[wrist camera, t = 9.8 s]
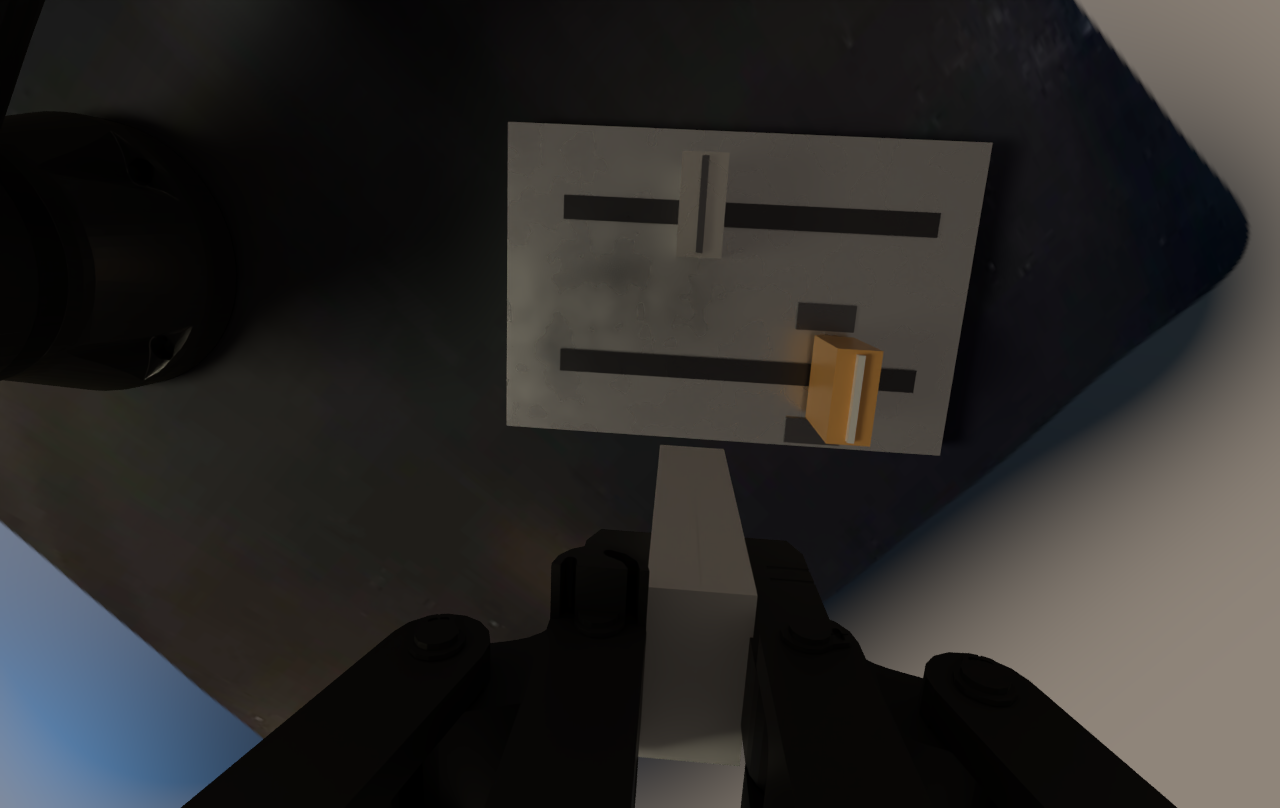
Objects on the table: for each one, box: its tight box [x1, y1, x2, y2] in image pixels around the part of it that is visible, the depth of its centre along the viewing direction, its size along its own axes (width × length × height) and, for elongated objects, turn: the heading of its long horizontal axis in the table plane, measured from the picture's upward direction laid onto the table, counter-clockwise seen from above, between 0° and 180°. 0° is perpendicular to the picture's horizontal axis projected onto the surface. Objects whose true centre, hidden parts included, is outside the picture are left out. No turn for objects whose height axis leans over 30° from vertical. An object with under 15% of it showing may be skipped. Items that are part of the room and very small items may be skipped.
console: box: [507, 122, 993, 455], centre depth 31 cm, size 24×16×8 cm, turn 87°
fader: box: [805, 335, 884, 447], centre depth 31 cm, size 2×4×5 cm, turn 177°
